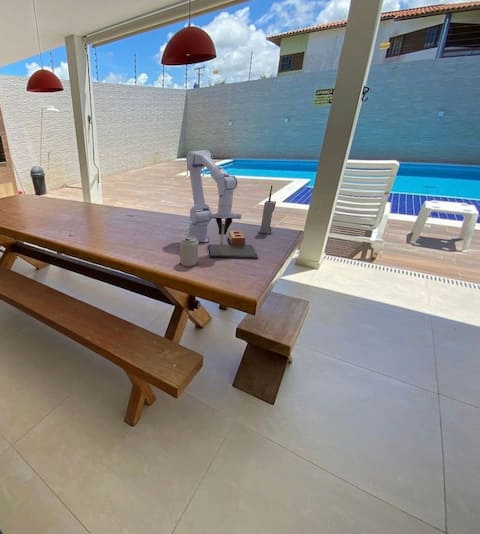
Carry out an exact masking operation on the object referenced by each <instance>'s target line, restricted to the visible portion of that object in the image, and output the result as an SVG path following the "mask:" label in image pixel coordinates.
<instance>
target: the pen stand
mask: <svg viewBox="0 0 480 534" xmlns="http://www.w3.org/2000/svg"><path fill="white" fill-rule="evenodd" d="M228 240H229V244H230V245H246V244H245V243H246V236H245V234H244V232H243V230H228Z"/></svg>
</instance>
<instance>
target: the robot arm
mask: <svg viewBox="0 0 480 534" xmlns="http://www.w3.org/2000/svg"><path fill="white" fill-rule="evenodd" d="M185 161H186V167H187V171H189V172H188V173H189V177H190V185H191V192H192V198H193V206H192V207H191V208H190V209H189V212H190V213H189V220H190V223H189V225H188V234H187V236H193V237H196V238H197V240H198V242H199V243H208V242H209V241H208V240H209V239H208V227H209V225H208V224H210V222H211V221H212V220H215V221H216V225H217V228H218V235H221V226H222V224H223V220H224V224H225V231H224V236H226V235H227V233H228V231H229V228H230V226H231V225H232V223H233V220H242V213H234V212H232V209H233V201H234V200H233V197H234V190H236V188H237V187H238V179H237V177H236V176H235V175H231V174H229V173H228V172H227V171H226V170H225V169H224V167H223V166H222V165H217V164H216V162H215V161H214V160H213V159H212V153H211V152H210V151H209V150H208V149H201V150H190V151H188V153H187V155H186V157H185ZM205 168H206V169H207V170H208V171H209V172H210V177H211V179H213V180H214V181H215V182H216V188H217V194H218V203H217V204H218V205H217V212H216V213H212V211H211V206H210V205H209V204H207V203H206V202H205V193H204V188H203V181H202V180H203V179H202V173H201V171H202V170H204V169H205Z"/></svg>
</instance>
